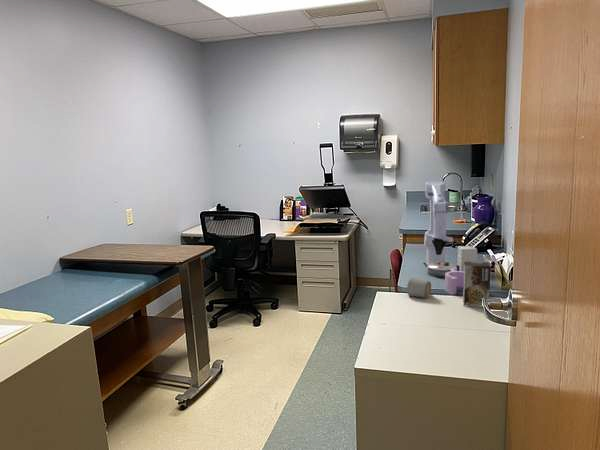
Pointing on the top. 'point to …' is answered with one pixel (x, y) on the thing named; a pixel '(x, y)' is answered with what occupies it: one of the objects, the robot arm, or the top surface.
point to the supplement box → (466, 255)
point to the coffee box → (476, 282)
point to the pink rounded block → (454, 280)
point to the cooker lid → (441, 266)
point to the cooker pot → (439, 272)
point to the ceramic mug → (418, 287)
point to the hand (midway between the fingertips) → (438, 254)
